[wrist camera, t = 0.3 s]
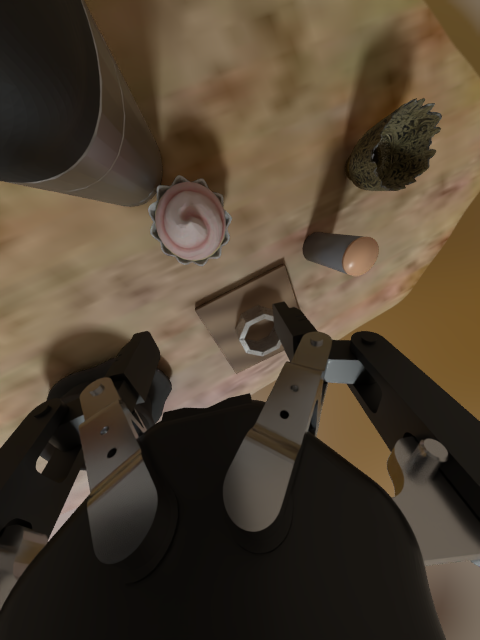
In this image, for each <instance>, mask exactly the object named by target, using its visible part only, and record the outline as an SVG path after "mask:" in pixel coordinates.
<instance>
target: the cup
mask: <svg viewBox="0 0 480 640" xmlns="http://www.w3.org/2000/svg"><path fill="white" fill-rule="evenodd" d="M416 99H417V98H416ZM416 99H413V100H411V101H410V102H408V103H406V104H403V105H402V106H401V107H399V108H398V109H397V110H395V111H394V112H393V113H391V114H390V115H388V116H387V117H386V118H384V119H383V120H381V121H380V122H379V123H377V124H376V125H375V126H373V127H372V128H371V129H370V130H369V131H368V132H366V133H365V134H364V135H363V137H362V138H361V139H360V140H359V141H358V143H357V144H356V146H355V148H354V150H353V152H352V154H351V155H350V157H349V158H348V160H347V162H346V166H345V173H346V176H347V177H348V179H350V180H351V181H352V182H353V183H354V185H356V186H357V187H359V188H360V189H364V190H371V191H398V190H400V189H405V188H406V187H405V185H409V184H411V183H414V182H416V180H415V179H414V178H416V177H417V176H420V175H421V174H422V173H423V172H425V171H426V170H427V169H428V168H429V159H430V158H432V157H433V156H434V155H435V153H436V150H435V149H430V150H429V146H430V145H431V143H432V141H431V139H432V137H433V136H434V135H435V134H437V133H438V132H440V130H441V128H440V127H435V126H436V125H437V124H438V122H439V121H440V120H441V118H442V115H441V114H440V113H437V112H430V110H431V109H432V108H433V106H434V105H435V103H431V104H426V105H424V106H422V104H423V103H424V101H425V98H423V99H420V100H418V101H417V100H416ZM421 106H422V107H421Z"/></svg>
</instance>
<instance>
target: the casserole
mask: <svg viewBox="0 0 480 640" xmlns="http://www.w3.org/2000/svg"><path fill="white" fill-rule="evenodd" d="M115 359H116V358H112V359H110V360H108V361H106V362H104V363H102V364H100V365H98V366H96V367H93V368H90V369H87V370H83V371H80V372H77V373H73V374H71V375H69V376H67V377H65V378H63V379H61V380H60V381H59V382H58V383H56V384H55V385H54V386H53V388H52V389H51V390H50V392H49V394H48V397H47V401H48V400H50V399H54V398H59V399H61V400H62V401H63V402H64V403H65V404H66V403H68V402H70V401H73V400H75V399H77V398H79V397H80V395H81V393H82V391H83V390H84V389H85V388H86V387H87V386H88V385H89V384H91V383H92V382H94V381H96V380H98V379H101V378H104V376H105V375H106V373H107V371H108V370H109V368H110V367H111V365H112V363H113V362H115V361H114V360H115ZM171 390H172V385H171V382H170V380H169V378H168V377H167V376H166V375H165V374H164V373H163V372H162V371H160V370H159V369H158V368H157V369H156V372H155V375H154V377H153V380H152V383H151V386H150V389H149V392H148V395H147V398H146V401H145V402H144V403H139V404H136V405H135V407H134V409H135V410H136V411H137V413H138V415H139V416H140V418H141V420H142V422H143V424H144V426H145V428H146V429H147V430H148V429H149V428H150V427H152V426H153V425H155V423H156V422H157V421H158V420H159V418H160V417H161V415H162V411H163V408H164V404H165V401H166V399H167V397H168V395H169V393H170V392H171ZM55 450H56V447H55V446H53V445H52V444H50V443H49V442H48V443H47V445H46V446H45V448H44V449H43V451H42V453H41V454H40V456H41V457H42V458H44V459H45V460H47V461H48V462H49V460H50V458H51V457H52V455H53V453H54V452H55ZM80 470H86V465H85V460H84V462H83V464H82V466H81V468H80Z"/></svg>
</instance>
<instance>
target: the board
mask: <svg viewBox="0 0 480 640" xmlns="http://www.w3.org/2000/svg"><path fill="white" fill-rule="evenodd" d="M283 301H284V302H285V303H286V304H287V306H288V307H289V308H292V307H295V308H297V309H298V306H297V303H296V300H295V296H294V293H293V290H292V287H291V284H290V281H289V278H288V274H287V271H286V268H285V265H283V264H281V265H280V266H278V267H276V268H274V269H272V270H270V271H268V272H266V273H264V274H262V275H260V276H258V277H256V278H254V279H252V280H250V281H248V282H246V283H244V284H242V285H240V286H238V287H236V288H234V289H232V290H230V291H228V292H226V293H225V294H223V295H221V296H219V297H217V298H215V299H213V300H211V301H209V302H207V303H205V304H203V305H201V306H199V307H197V308H195V311H196V313H197V314H198V316H199V317H200V319H201V321H202V322H203V324H204V325H205V327H206V328H207V330H208V331H209V333H210V334H211V336H212V337H213V339H214V340H215V342H216V344H217V345H218V347H219V348H220V350H221V351H222V353H223V354H224V356H225V357H226V359H227V360H228V362H229V364H230V365H231V367H232V368H233V370H234V371H235V373H236V374H237V373H239V372H241V371H243V370H245V369H247V368H249V367H251V366H253V365H255V364H257V363H259V362H261V361H263V360H266V359H268V358H270V357H272V356H274V355H276V354H278V353H280V352H282V351H284V348H283V346H282V344H281V346H280V348H279V349H277V350H275V351H273V352H271V353H269V354H267V355H265V356H259V355H253V354H248V353H246V351H245V350H244V348H243V346H242V344H241V342H240V341H239V339H238V336H237V333H236V330H235V328H236V326H237V323H238V321H239V318H240V316H241V313H243V312H245V311H247V310H249V309H251V308H253V307H255V306H257V305H259V306H263V307H266V308H270V309H272V304H274V303H279V302H283ZM273 326H274V321H271V320H267V319H263V320H261V321H259V322H257V323H255V324H253V325H251V326H250V327H249V329H248V331H247V334H246V336H245V339H249V340H254V341H259V340H261V339H263V338H265V337H267V336H269V335H270V333H271V331H272V329H273Z"/></svg>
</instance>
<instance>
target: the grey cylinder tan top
mask: <svg viewBox="0 0 480 640" xmlns="http://www.w3.org/2000/svg"><path fill="white" fill-rule="evenodd" d="M378 252H379V247H378V244H377V242H376V240H375V239H373V238H371V237H362V236H352V235H341V234H331V233H320V232H316V233H313V234H311V235H310V236H309V237H308V238H307V239H306V240H305V242H304V245H303V255H304V257H305V258H306V259H307V260H309V261H312V262H315V263H318V264H320V265H323V266H326V267H329V268H332V269H335V270H337V271H340V272H343V273H346V274H349V275H352V276H360V275H362V274H364V273H366V272H367V271H369V270H370V269H371V268H372V266H373V265H374V263H375V262H376V260H377V257H378Z"/></svg>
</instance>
